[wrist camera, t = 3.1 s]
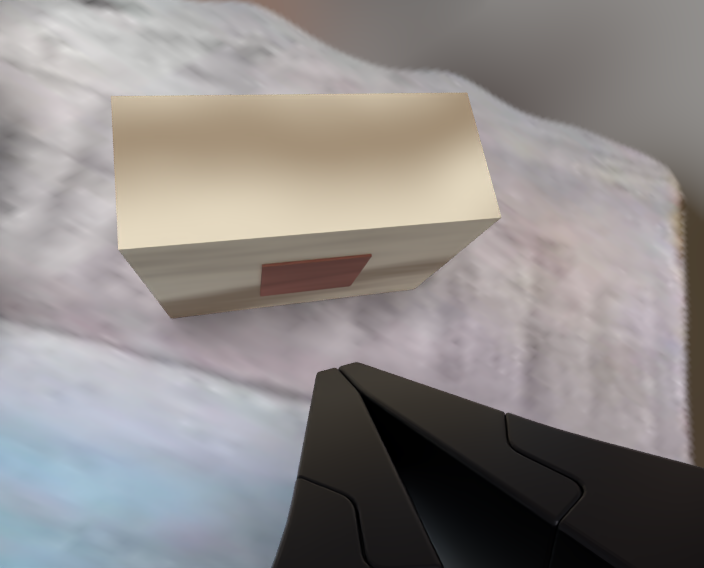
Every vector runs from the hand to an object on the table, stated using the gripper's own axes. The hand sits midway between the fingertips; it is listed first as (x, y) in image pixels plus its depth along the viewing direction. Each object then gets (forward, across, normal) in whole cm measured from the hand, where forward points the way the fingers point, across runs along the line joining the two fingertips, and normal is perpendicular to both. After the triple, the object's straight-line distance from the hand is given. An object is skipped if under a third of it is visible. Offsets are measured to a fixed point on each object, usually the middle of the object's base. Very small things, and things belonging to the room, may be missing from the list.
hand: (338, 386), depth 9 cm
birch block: (+14, +2, -4) cm, 15 cm away
